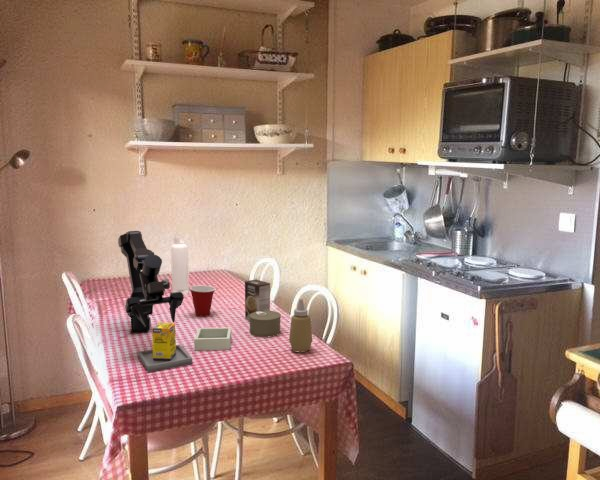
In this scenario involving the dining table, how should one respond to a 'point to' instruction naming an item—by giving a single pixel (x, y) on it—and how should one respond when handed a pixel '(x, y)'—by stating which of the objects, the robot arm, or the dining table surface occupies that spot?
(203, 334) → the white square frame
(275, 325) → the can
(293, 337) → the squeeze bottle
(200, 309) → the plastic cup
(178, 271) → the bottle
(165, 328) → the supplement box
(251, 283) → the coffee box
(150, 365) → the tray
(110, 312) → the dining table surface
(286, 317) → the dining table surface
